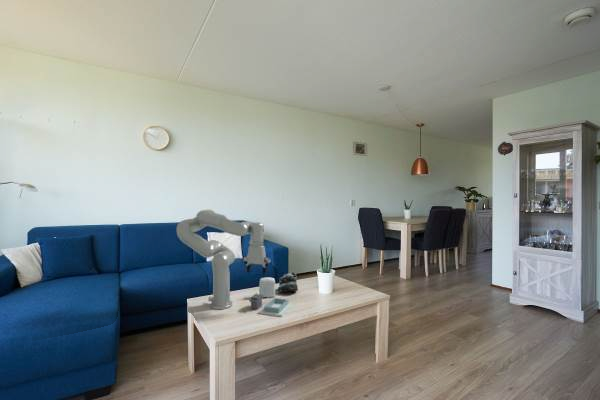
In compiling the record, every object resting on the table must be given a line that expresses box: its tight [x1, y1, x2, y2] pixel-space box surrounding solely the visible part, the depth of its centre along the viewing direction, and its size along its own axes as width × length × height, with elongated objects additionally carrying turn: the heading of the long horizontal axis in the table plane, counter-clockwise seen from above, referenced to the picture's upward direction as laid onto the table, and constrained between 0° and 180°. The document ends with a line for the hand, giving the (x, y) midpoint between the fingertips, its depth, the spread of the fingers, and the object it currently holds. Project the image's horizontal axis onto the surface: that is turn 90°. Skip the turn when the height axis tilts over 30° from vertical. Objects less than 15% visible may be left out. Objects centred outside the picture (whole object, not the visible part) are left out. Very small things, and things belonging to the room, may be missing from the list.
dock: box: [258, 297, 294, 318], centre depth 166 cm, size 14×18×4 cm
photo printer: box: [258, 276, 276, 298], centre depth 186 cm, size 10×4×12 cm, turn 98°
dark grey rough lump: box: [277, 272, 299, 294], centre depth 198 cm, size 15×12×14 cm
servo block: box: [248, 292, 264, 311], centre depth 168 cm, size 4×10×8 cm, turn 161°
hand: (256, 273), depth 168 cm, fingers open, 9 cm apart
